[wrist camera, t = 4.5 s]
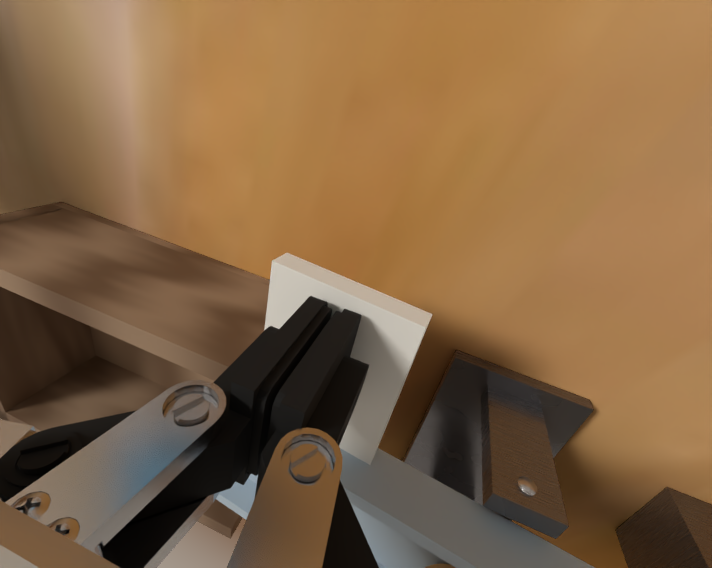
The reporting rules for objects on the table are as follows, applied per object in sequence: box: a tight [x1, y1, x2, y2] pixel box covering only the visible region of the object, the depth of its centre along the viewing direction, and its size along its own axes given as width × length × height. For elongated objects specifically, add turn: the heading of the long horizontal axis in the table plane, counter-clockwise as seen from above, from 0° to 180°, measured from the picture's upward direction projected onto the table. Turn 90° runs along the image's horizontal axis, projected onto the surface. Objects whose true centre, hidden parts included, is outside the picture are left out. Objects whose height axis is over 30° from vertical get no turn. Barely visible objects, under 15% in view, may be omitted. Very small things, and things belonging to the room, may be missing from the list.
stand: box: [403, 350, 712, 568], centre depth 15 cm, size 13×10×6 cm
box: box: [0, 202, 270, 538], centre depth 19 cm, size 16×12×6 cm
